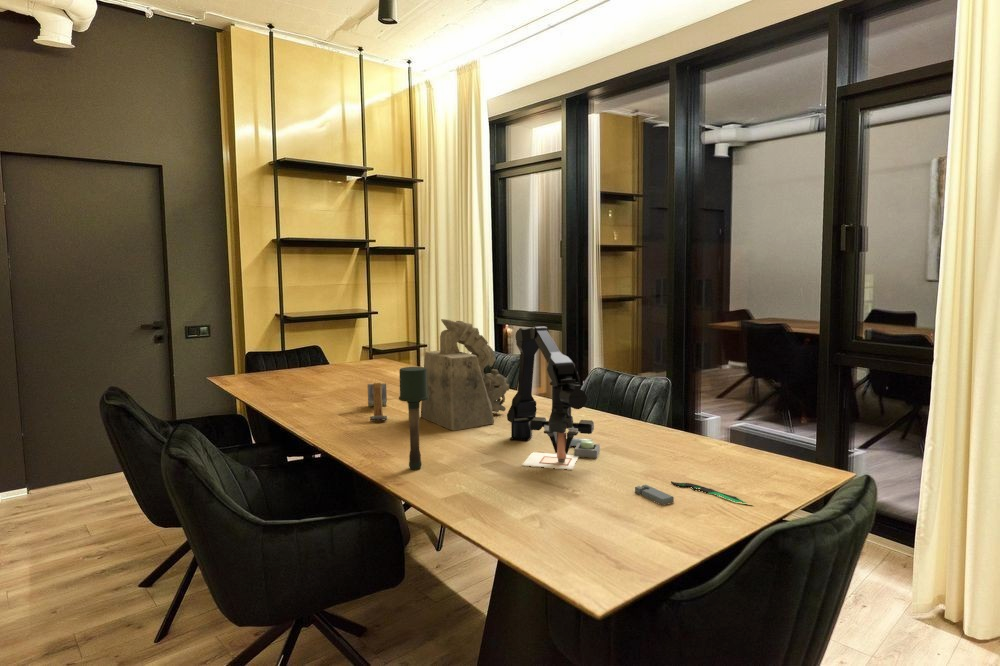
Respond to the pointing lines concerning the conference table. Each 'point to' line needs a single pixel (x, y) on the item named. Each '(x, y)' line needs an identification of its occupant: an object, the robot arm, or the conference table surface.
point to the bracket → (654, 494)
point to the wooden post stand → (377, 400)
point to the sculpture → (462, 380)
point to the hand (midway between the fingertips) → (561, 453)
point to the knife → (708, 491)
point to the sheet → (550, 461)
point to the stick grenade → (413, 406)
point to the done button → (587, 444)
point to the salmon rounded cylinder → (561, 446)
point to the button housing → (587, 451)
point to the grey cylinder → (577, 441)
